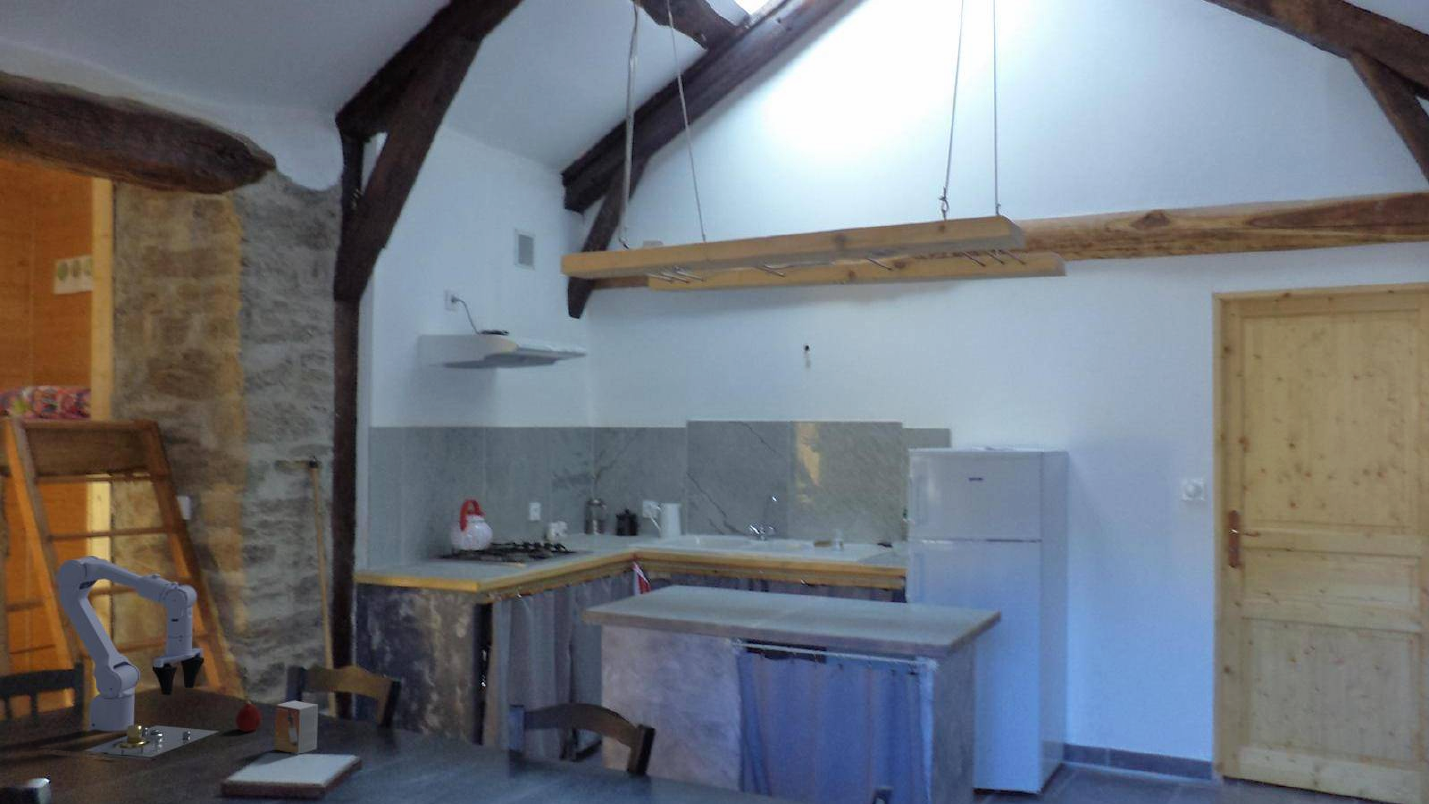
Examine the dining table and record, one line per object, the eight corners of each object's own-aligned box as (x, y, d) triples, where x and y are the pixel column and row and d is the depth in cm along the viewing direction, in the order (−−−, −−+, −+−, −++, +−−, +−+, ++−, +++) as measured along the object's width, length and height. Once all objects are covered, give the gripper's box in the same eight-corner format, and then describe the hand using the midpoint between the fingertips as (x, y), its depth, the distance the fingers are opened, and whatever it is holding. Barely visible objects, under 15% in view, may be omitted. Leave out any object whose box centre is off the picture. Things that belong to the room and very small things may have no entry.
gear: (113, 750, 248) (113, 728, 248) (134, 743, 254) (134, 721, 254) (133, 753, 246) (134, 730, 246) (154, 746, 252) (155, 724, 252)
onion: (265, 731, 269) (266, 698, 269) (253, 737, 263) (254, 704, 263) (243, 730, 269) (244, 697, 269) (230, 736, 264) (231, 703, 264)
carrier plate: (82, 755, 247) (82, 741, 247) (156, 729, 269) (156, 716, 269) (148, 762, 243) (149, 747, 243) (218, 735, 265) (219, 721, 265)
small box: (273, 750, 253) (275, 704, 253) (293, 744, 258) (294, 699, 258) (298, 755, 249) (299, 709, 250) (317, 749, 254) (318, 703, 255)
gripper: (171, 641, 260) (170, 699, 260) (213, 631, 274) (212, 685, 274) (147, 640, 262) (145, 696, 262) (189, 629, 276) (188, 683, 276)
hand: (178, 691), depth 268 cm, fingers open, 7 cm apart
